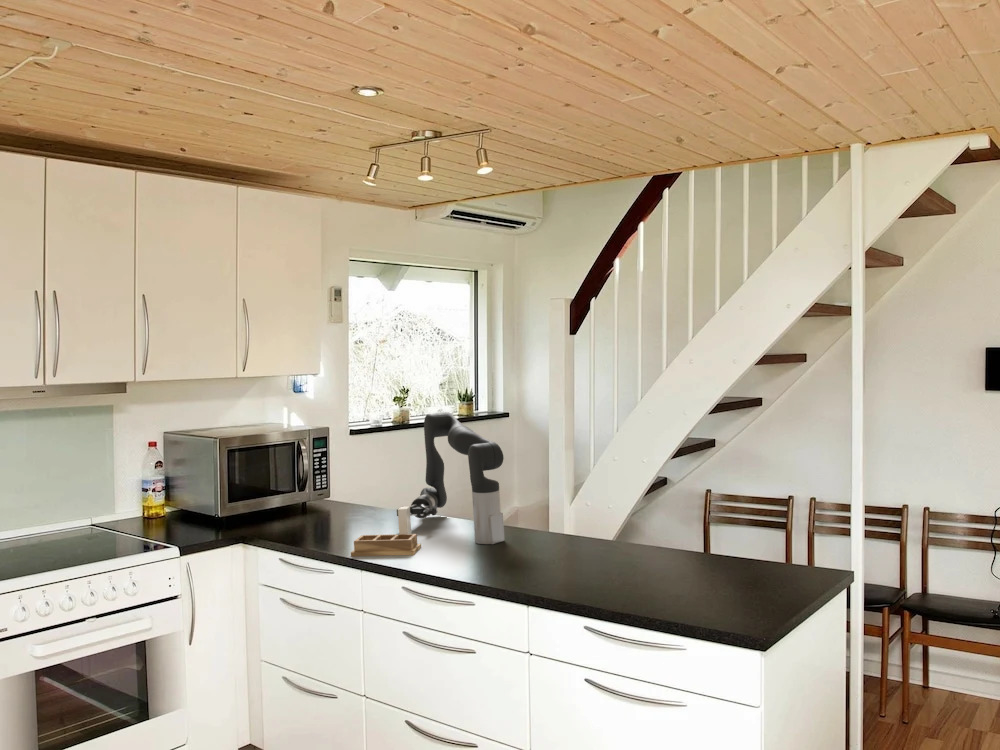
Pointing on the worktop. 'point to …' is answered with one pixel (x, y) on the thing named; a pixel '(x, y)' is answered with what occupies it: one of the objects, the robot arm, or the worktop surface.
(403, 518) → the pale wooden block
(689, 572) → the worktop surface
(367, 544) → the wooden compartment tray
